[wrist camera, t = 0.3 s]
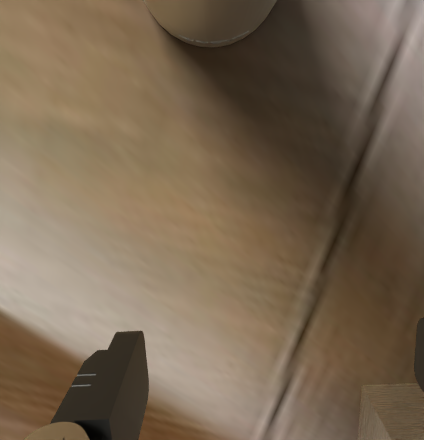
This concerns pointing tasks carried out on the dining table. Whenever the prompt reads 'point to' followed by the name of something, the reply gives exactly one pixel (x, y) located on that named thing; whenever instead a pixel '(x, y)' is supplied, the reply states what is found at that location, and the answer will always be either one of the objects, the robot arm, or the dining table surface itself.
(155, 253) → the dining table surface
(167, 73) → the dining table surface
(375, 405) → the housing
